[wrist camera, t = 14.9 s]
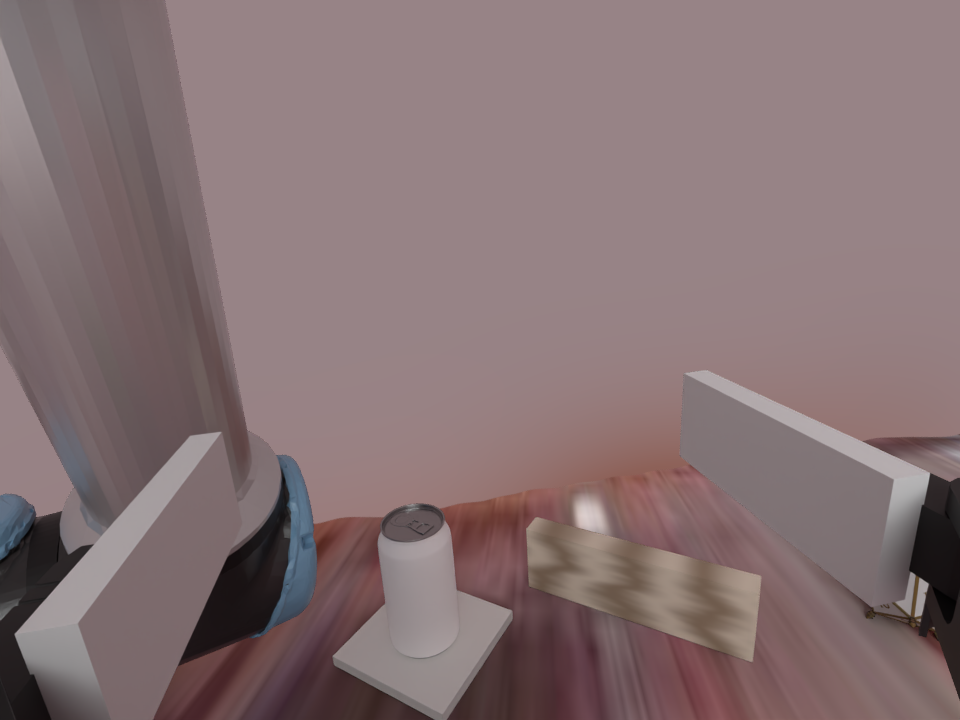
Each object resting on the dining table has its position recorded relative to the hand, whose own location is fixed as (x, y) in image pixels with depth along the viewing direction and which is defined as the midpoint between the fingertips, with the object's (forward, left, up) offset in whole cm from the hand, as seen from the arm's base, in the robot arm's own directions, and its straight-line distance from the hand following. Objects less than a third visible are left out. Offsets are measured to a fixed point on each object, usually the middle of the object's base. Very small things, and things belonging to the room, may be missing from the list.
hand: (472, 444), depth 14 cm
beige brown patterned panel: (-3, +31, -32) cm, 44 cm away
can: (-19, +18, -31) cm, 41 cm away
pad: (-19, +19, -32) cm, 41 cm away
